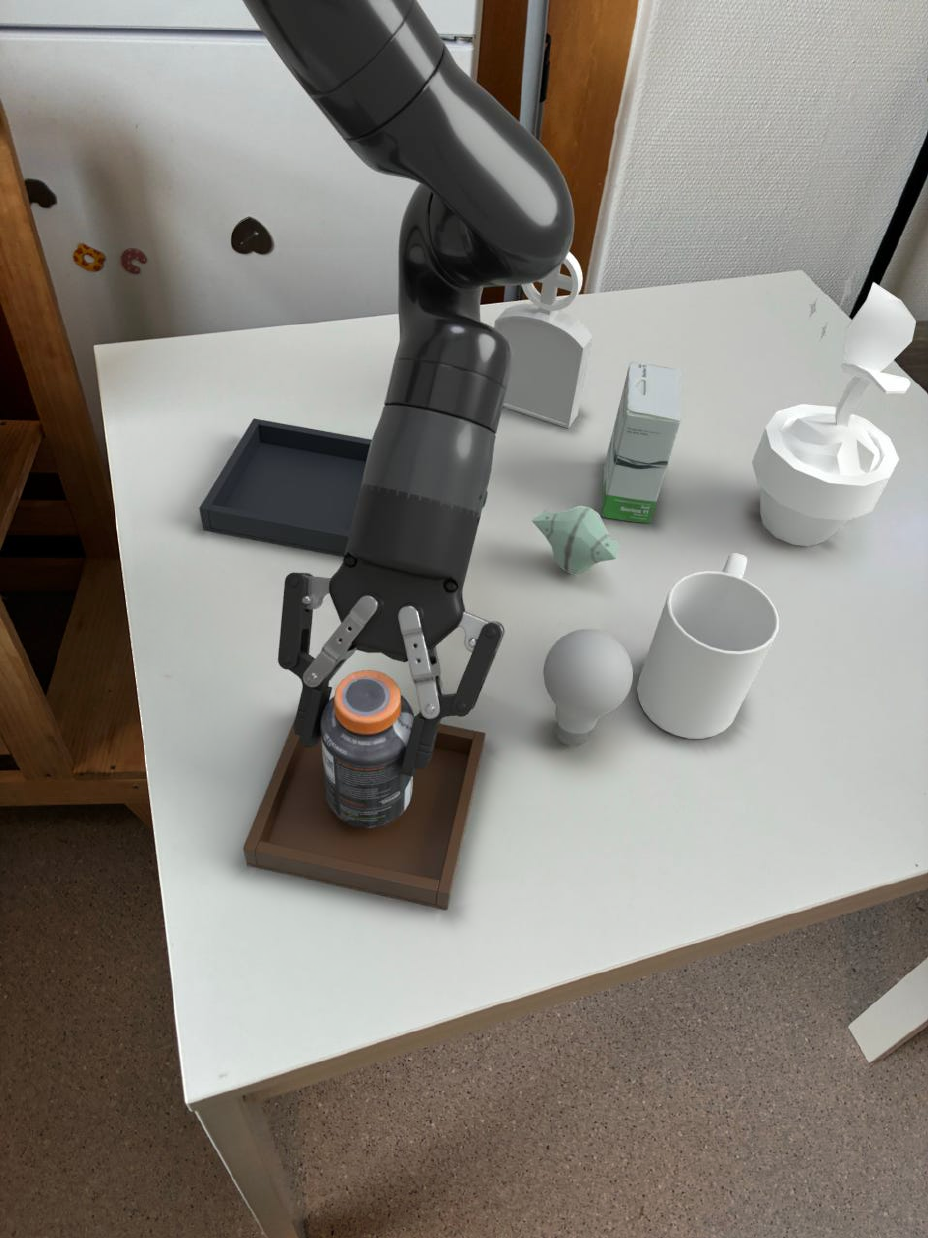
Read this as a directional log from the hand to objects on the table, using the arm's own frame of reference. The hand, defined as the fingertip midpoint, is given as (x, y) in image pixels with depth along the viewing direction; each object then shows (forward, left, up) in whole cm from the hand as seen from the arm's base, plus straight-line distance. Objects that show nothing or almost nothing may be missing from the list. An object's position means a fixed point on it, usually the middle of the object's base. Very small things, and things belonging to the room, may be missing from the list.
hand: (359, 758), depth 56 cm
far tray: (-14, +32, -8) cm, 35 cm away
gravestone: (+4, +52, -8) cm, 52 cm away
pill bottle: (0, +2, -7) cm, 7 cm away
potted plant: (+31, +40, -8) cm, 51 cm away
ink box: (+15, +41, -8) cm, 44 cm away
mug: (+22, +19, -8) cm, 30 cm away
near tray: (0, +2, -8) cm, 8 cm away
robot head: (+11, +29, -8) cm, 32 cm away
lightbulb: (+13, +11, -8) cm, 19 cm away
